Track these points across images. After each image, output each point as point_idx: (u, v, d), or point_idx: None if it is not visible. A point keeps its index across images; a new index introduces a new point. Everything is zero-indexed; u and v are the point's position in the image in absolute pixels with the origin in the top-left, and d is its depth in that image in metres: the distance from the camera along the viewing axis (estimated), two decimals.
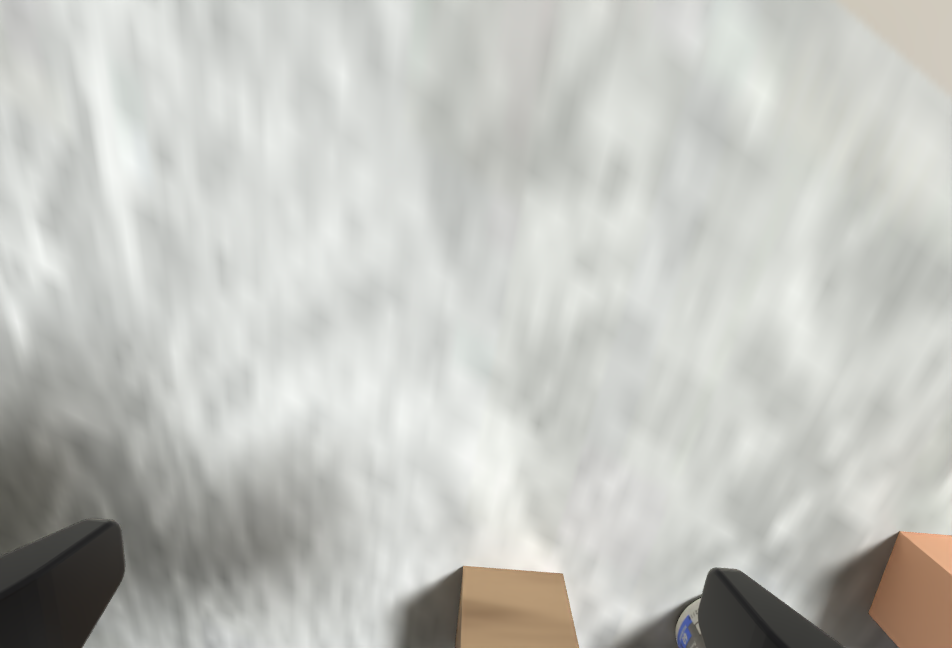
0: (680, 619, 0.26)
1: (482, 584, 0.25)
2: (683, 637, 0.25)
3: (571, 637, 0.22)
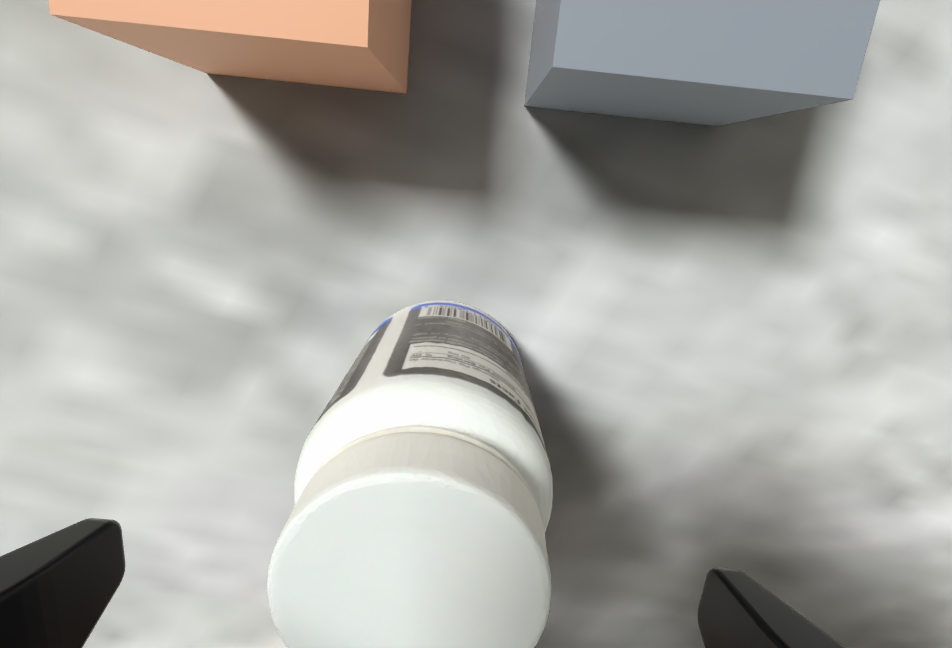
0: None
1: None
2: None
3: None
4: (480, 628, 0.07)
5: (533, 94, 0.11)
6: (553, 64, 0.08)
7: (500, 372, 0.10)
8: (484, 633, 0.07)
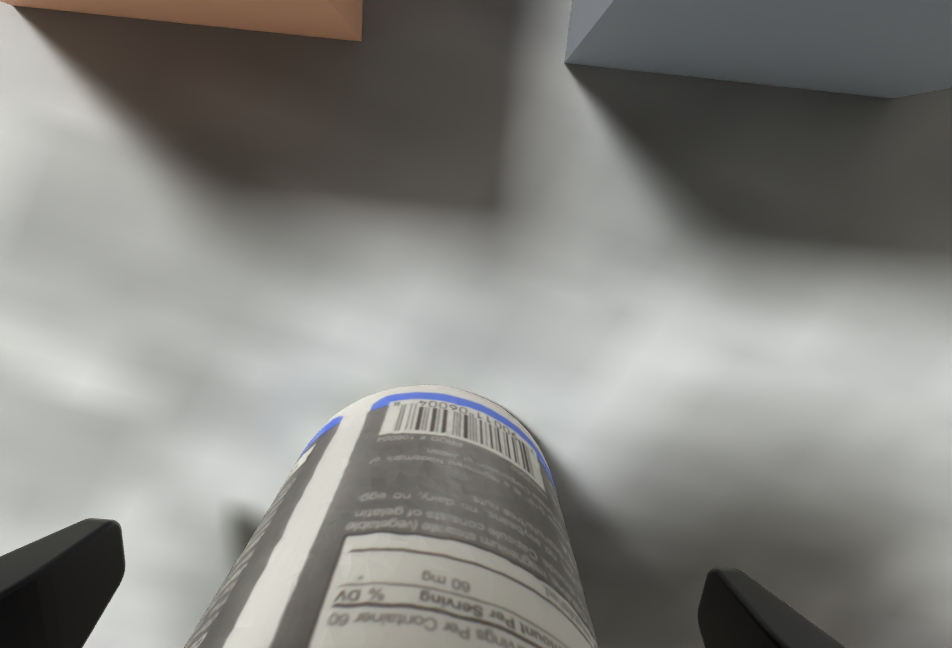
0: None
1: None
2: None
3: None
4: None
5: (594, 27, 0.06)
6: None
7: (536, 608, 0.05)
8: None
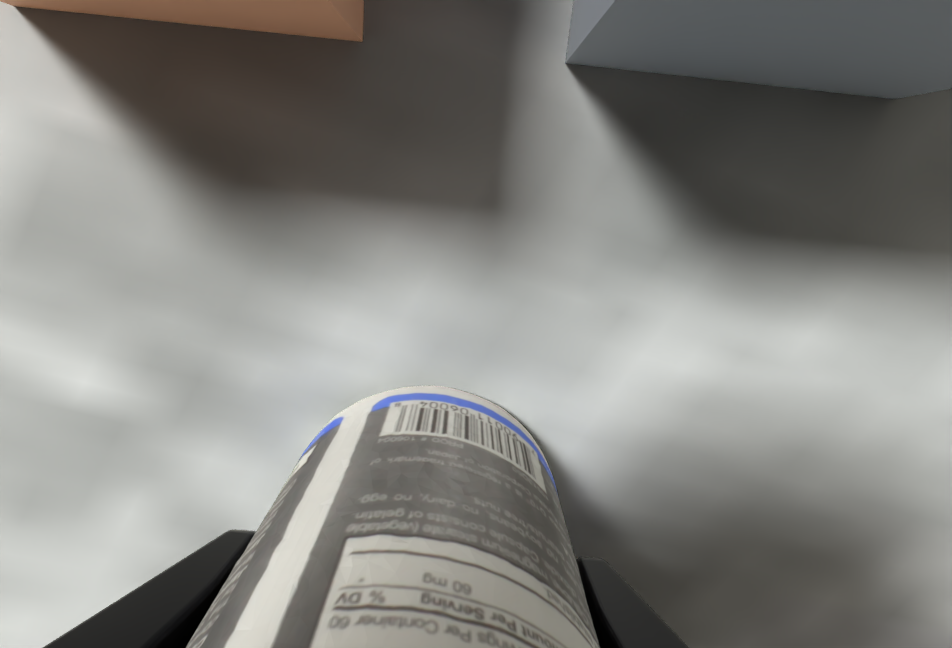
0: None
1: None
2: None
3: None
4: None
5: (595, 27, 0.06)
6: None
7: (538, 612, 0.05)
8: None
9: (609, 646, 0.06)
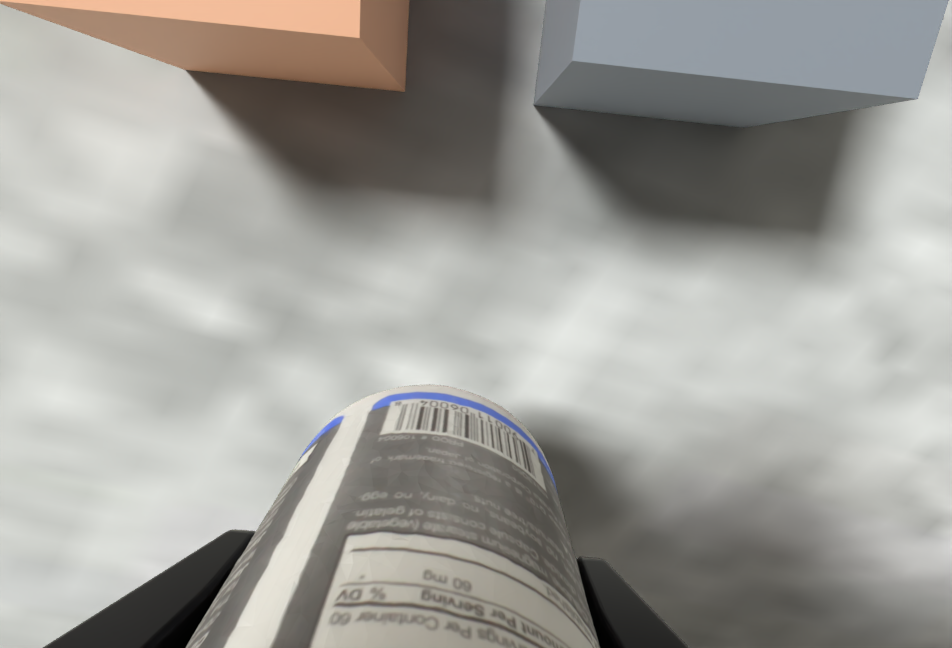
0: None
1: None
2: None
3: None
4: None
5: (545, 92, 0.10)
6: (573, 58, 0.07)
7: (537, 608, 0.05)
8: None
9: (609, 646, 0.06)
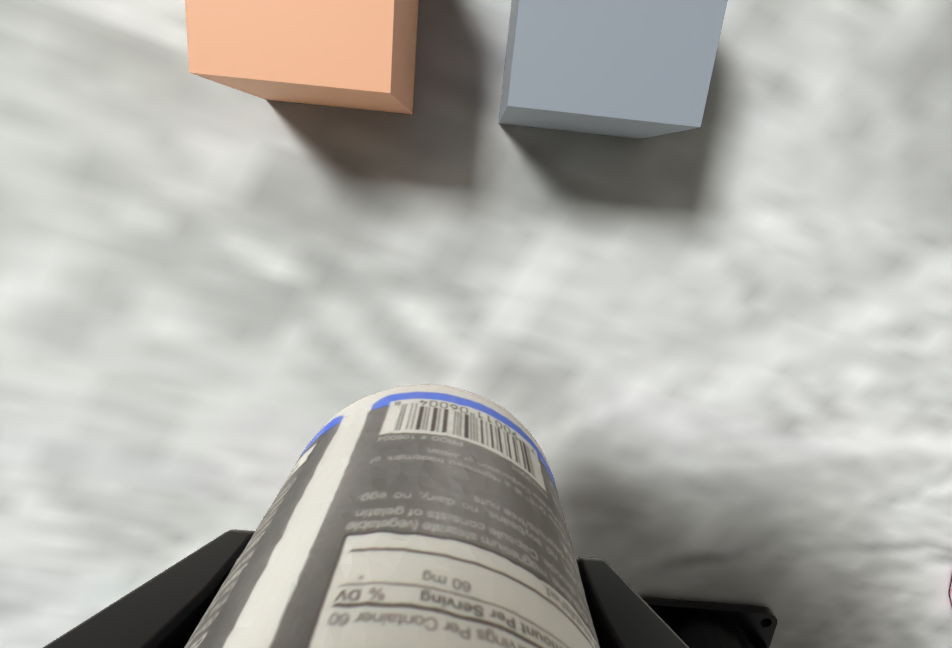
0: None
1: None
2: None
3: None
4: None
5: (502, 117, 0.16)
6: (508, 104, 0.13)
7: (538, 609, 0.05)
8: None
9: (609, 646, 0.06)
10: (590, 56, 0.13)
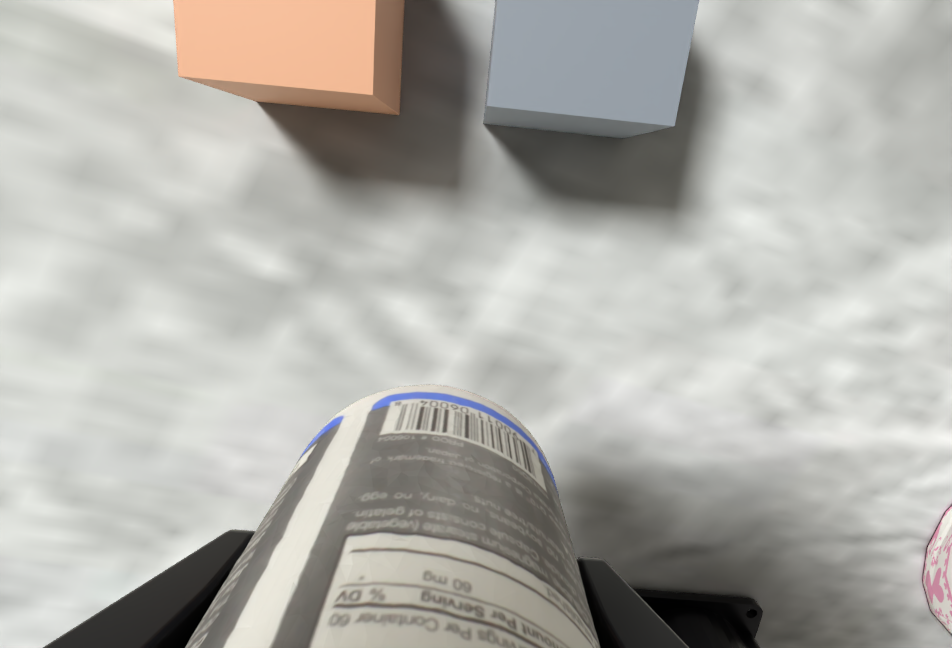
0: None
1: None
2: None
3: None
4: None
5: (485, 117, 0.16)
6: (487, 104, 0.13)
7: (539, 609, 0.05)
8: None
9: (609, 646, 0.06)
10: (567, 57, 0.13)
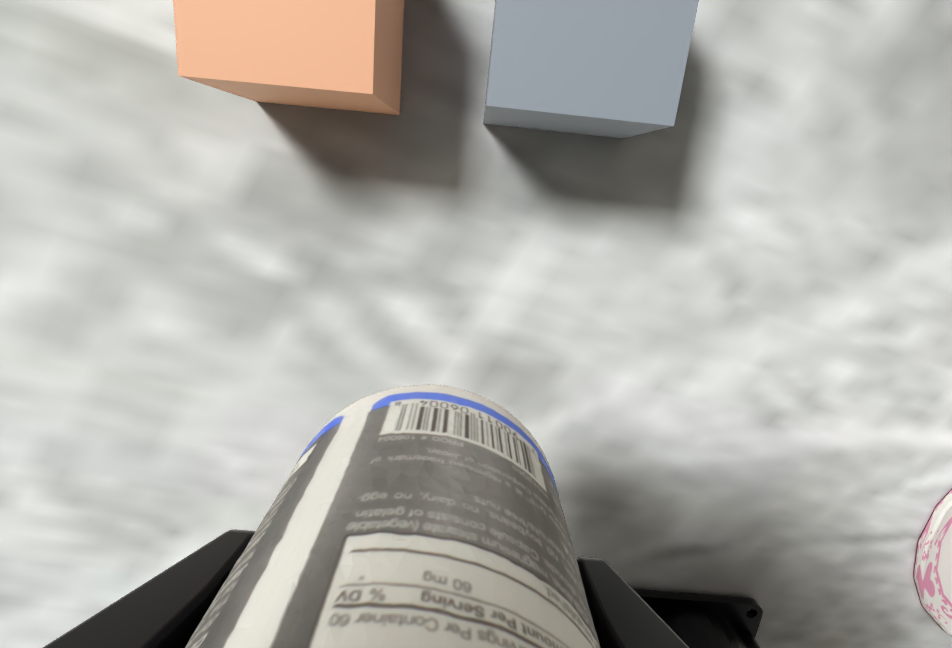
0: None
1: None
2: None
3: None
4: None
5: (484, 117, 0.16)
6: (486, 104, 0.13)
7: (539, 609, 0.05)
8: None
9: (609, 646, 0.06)
10: (566, 57, 0.13)
